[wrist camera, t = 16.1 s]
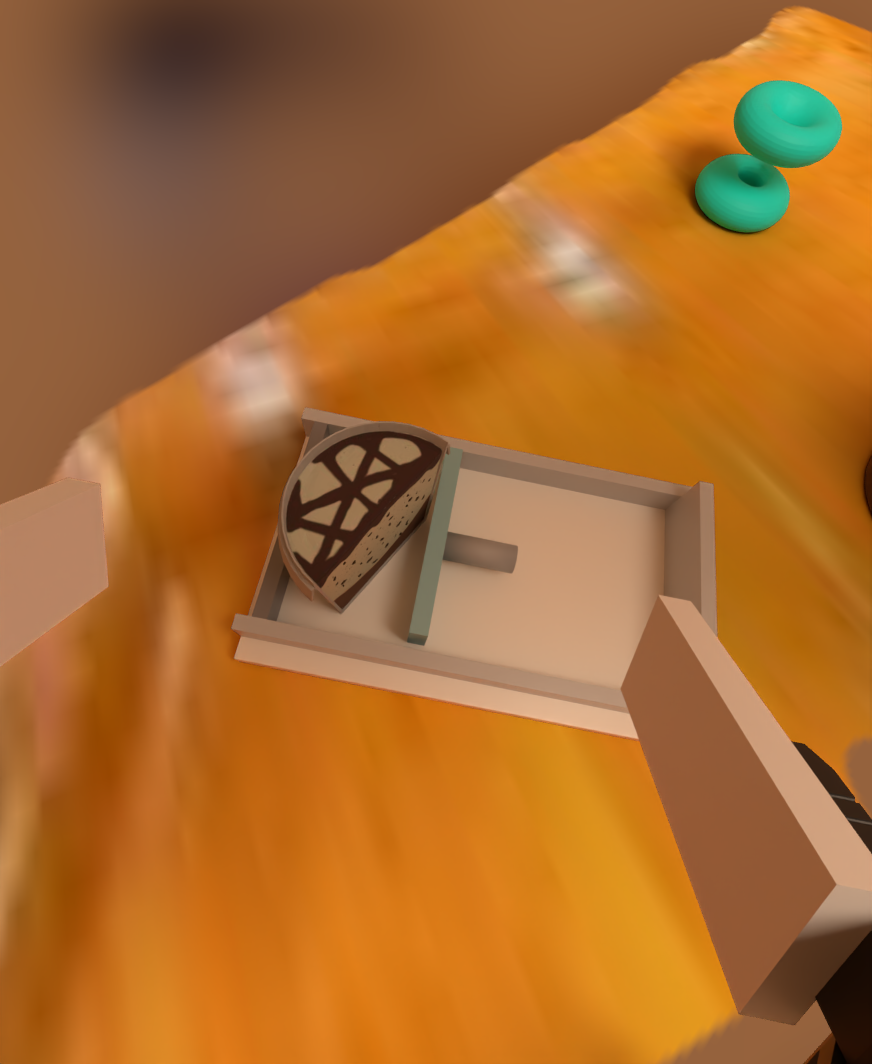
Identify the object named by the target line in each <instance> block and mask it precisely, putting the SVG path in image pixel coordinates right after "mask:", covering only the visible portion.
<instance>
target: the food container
mask: <svg viewBox="0 0 872 1064" xmlns="http://www.w3.org/2000/svg"><path fill="white" fill-rule="evenodd" d="M445 454H448V455H449V454H450V444H448V441H447V440H445V439H444V438H442V437H440V436H439V435H437V434H435V433H433V432H431V431H428V430H426V429H424V428H421V427H418V426H414V425H411V424H406V423H399V422H386V421H378V422H369V423H362V424H358V425H354V426H350V427H348V428H345V429H343V430H340V431H338V432H335V433H334V434H332V435H330V436H328V437H327V438H325V439H323V440H322V441H320V442H319V443H318V444H317V445H315V446H314V447H313V448H312V449H310V451H309V452H308V453H307V454H306V455H305V456H304V457H303V458H302V459H301V460H300V462H299V463H298V464H297V466H296V467H295V469H294V470H293V472H292V473H291V475H290V476H289V478H288V481H287V483H286V485H285V487H284V489H283V493H282V497H281V500H280V504H279V515H278V540H279V548H280V551H281V555H282V558H283V562H284V564H285V566H286V568H287V570H288V572H289V575H290V577H291V578H292V580H293V581H294V582H295V584H296V585H297V587H298V588H299V589H300V591H301V592H302V593H303V594H304V595H305V596H306V597H307V598H308V599H309V600H310V601H311V602H312V601H313V600H314V590H315V589H317V590H318V591H319V592H320V593H321V594H322V595H323V596H324V597H325V598H326V599H327V600H328V601H329V602H330V603H331V604H332V605H333V606H334V607H335V608H336V609H337V610H338V611H339V612H340V613H341V614H342V613H343V612H344V611H345V610H346V609H347V608H348V607H349V605H350V604H351V603H352V602H353V601H354V600H355V599H356V598H357V596H358V595H359V594H360V593H361V592H362V591H363V590H364V589H365V588H366V586H367V585H368V584H369V583H370V582H371V581H372V580H373V579H374V578H375V576H376V575H377V574H378V573H379V572H380V571H381V570H382V569H383V568H384V566H385V565H386V564H387V563H388V562H389V561H390V560H391V559H392V557H393V556H394V555H395V554H396V553H397V552H398V551H399V550H400V549H401V547H402V546H403V545H404V544H405V543H406V542H407V541H408V540H409V539H410V537H411V536H412V535H413V534H414V533H415V532H416V531H417V530H418V528H419V527H420V526H421V525H422V524H423V523H424V522H425V521H426V519H427V515H428V512H429V509H430V505H431V502H432V498H433V495H434V492H435V488H436V485H437V481H438V478H439V475H440V471H441V468H442V464H443V461H444V457H445Z"/></svg>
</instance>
